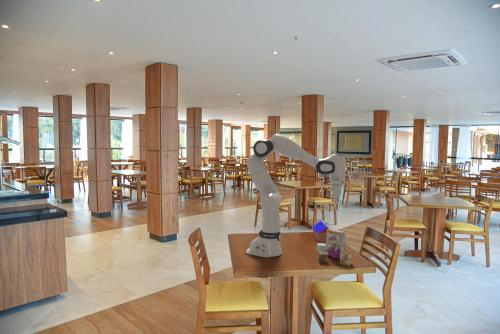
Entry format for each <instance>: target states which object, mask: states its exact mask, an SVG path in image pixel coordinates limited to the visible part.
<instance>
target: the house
mask: <svg viewBox="0 0 500 334" xmlns="http://www.w3.org/2000/svg"><path fill="white" fill-rule="evenodd" d="M327 229H330V227H329V226H327V225H326V224H325V223H324V222H323V221H322V220H319V221H318V222H317V223H316V224H315V225H313V226H312V237H314V239H315V240H316V241H317V242H318V243H326V233H327Z"/></svg>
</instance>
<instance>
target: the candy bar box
mask: <svg viewBox="0 0 500 334" xmlns="http://www.w3.org/2000/svg"><path fill="white" fill-rule="evenodd" d="M325 244H326V252H327V253H328V257H331V258H334V259H337V260H339V261H340V256H341V255H342V254H346V253H345V252H346V249H345V248H346V232H345V231H342V230H339V229H335V228H332V227H331V228H329V229H327V233H326V242H325Z"/></svg>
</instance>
